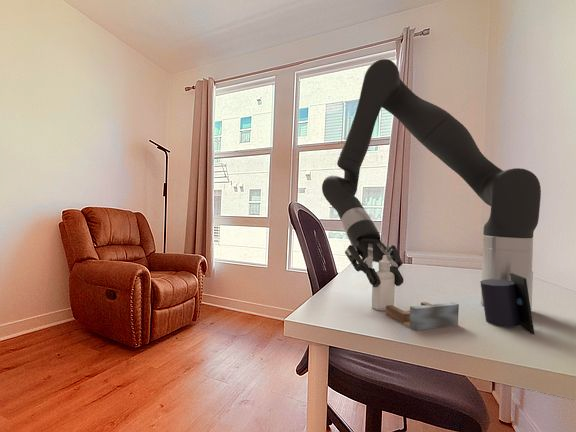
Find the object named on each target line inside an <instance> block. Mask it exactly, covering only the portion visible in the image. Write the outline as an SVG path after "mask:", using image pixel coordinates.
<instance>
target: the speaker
mask: <svg viewBox="0 0 576 432" xmlns="http://www.w3.org/2000/svg"><path fill="white" fill-rule="evenodd" d="M510 277H511V281H508V280H502V279H488V280H483V281H482V280H480V282H479V283H480V289H481V290H482V297H483V304H484V305H483V311H484V316H485V322H486V323H488V324H490V325H493V326H498V327H505V328H515V327H519V326H520V327H521V328H522V329H524V330H525V331H526V332H528V333H529V334H531V335H533V336H534V335H535V329H534V327H535V326H534V321H533V316H532V315H533V314H532V310H531V307H530V301H529V294H528V287H527V281H526V278H524V277H521V276H518V275H516V274H513V273H510ZM481 290H480V291H481Z"/></svg>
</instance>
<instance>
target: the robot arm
mask: <svg viewBox="0 0 576 432" xmlns="http://www.w3.org/2000/svg"><path fill="white" fill-rule="evenodd" d="M400 76H401V75H400V71H399V68H398V66H397V64H396V63H395V62H394V61H392V60H391V59H387V58H381V59H379V60H376V61H374V62H373V63H372V64H370V65H369V67H368V68H367V69H366V72H365V73H364V76H363V81H362V85H361V89H360V93H359V94H360V95H359V99H358V103H357V106H356V110H355V114H354V116H353V120H352V123H351V124H350V125H351V126H350V128H349V130H348V133H347V136H346V138H345V141H344V144H343V146H342V148H341V151H340V154H339V156H338V158H337V159H338V160H337V161H336V162H337V163H336V165H337V167H338V168H339V169H341V170H342V171H344V177H341V176H337V175H335V174H334V175H329V176H327V177H325V178H324V180H323V181H322V184H321V192H322V195H323V197H324V198H325V200H326V201H327V203H328V204H329V205H330V206H331V207H332V209H334V210H335V211H336V212H337V215H338V217H339V218H340V221H341V223H342V227H343V230H344V232H345V234H346V236H347V238H348V241H349V243H350V244H349V245H348V247H347V248H346V250H345V251H344V254H345V255H346V257H347V259H348V260H349V261H350V263H351V265H352V267H353V268H354V270H355V271H356V272H358V273H359V272H362V273H364V274H365V276H366V277H367V279H368V281H369V282H368V283H369V284H370V285H371V286H372V285H373V287H378V286H379V285H380V284H381V281H380V279H379V277H378V275H377V273H376V272H377V271H376V269H375V268H373V263H377V264H379V261H380V260H382V258H383V255H386V257H387V260H388V261H389V262H390V272H392V273H393V274H394V276H395V287H400V286H402V284H403V283H404V277H403V276H402V274H401V272H400V270H399V268H400V267H401V266H402V265H403V260H402V259H401V257H400V254H399V251H398V249H397V247H396V245H394V244H392V245H391V246H386V245H385V244H384V243H383V242H382V240H381V234H380V231H379V230H378V229H377V226H376V225H375V223H374V222H373V220H372V217H371V216H370V215H369V214H368V213H367V212H366V210H365V208H364V207H363V205H362V203H361V202H360V200H359V198H357V197H356V194H357V191H358V187H359V186H358V185H359V178H360V171H361V167H362V164H363V162H364V160H365V157H366V154H367V152H368V150H369V146H370V144H371V141H372V140H371V139H372V137H373V132H374V130H375V129H374V128H375V126H376V121H377V120H378V117H379V114H380V112H381V110H382V108H383V109H384V110H385V111H387V112H389V113H390V114H391V115H393V116H394V117H395V118H396V119H397V120H398V121H399V122H400V123H401V125H403V126H404V128H406V130H407V131H408V132H409V133H410V134H411V135H412V136H413V137H414V138H415V139H416V140H417V141H418V142H419V143H420V144H421V145H422V146H424V147H425V149H427V150H428V151H430V152H431V154H433V155H434V156H436V157H437V158H438V159H439V160H440V161H441V162H442V163H443V164H445V165H446V166H447V167H448V168H450V169H451V170H452V171H454V172H455V173H456V174H457V175H459V177H460V178H461V179H462V180H464V182H465V183H466V184H467V185H468V186H469V187H470V188H471V190H472V191H473V192H475V194H476V195H477V196H478V197H479V198H480V199H481V200H482V201H483V202H484V203H485V204H486V205H488V206H489V207H490V214H489V216H488V217H489V218H488V219H487V221H486V222H485V224H484V226H483V235H482V236H483V237H482V263H481V281H483V280H488V279H502V280H508V281H511V277H510V273H513V274H516V275H518V276H521V277H524V278H526V281H527V287H528V294H529V301H530V307H531V311H532V310H533V309H532V308H533V307H532V306H533V282H534V271H533V259H534V258H533V253H534V252H533V249H534V232H535V230H536V228H537V227H538V224H539V218H540V210H541V209H540V208H541V198H542V197H541V196H542V189H541V183H540V180H539V178H538V176H537V175H536V174H535V173H534V172H532V171H530V170H528V169H525V168H518V167H516V168H515V167H514V168H511V169H506V170H503V169H501V168H499V167H498V166H496V165H495V163H493V162H492V161H490V160H489V159H488V158H487V157H486V156H485V155H484V154H483V153H482V151H481V150H480V149H479V147H478V145H477V143H476V141H475V140H474V138H473V136H472V134H471V132H470V131H469V129H468V128H467V127H465V125H463V123H462V122H460V121H459V120H458V119H457V118H455V117H454V116H453V115H452V114H451V113H449V112H448V111H447V110H445V109H444V108H442V107H440V106H438V105H436V104H434V103H431V102H429V101H428V100H425V99H422V98H421V97H419V96H418V95H416V93H415V92H413V91H412V90H411V88H409V87H408V86H407V85H406V84H405V83H404V81H402V79H401V77H400ZM480 291H481V292H480V293H481V294H480V304H481V305H482V306H484V304H483V297H482V290H480Z"/></svg>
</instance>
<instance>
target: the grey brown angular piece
mask: <svg viewBox="0 0 576 432" xmlns="http://www.w3.org/2000/svg"><path fill="white" fill-rule="evenodd" d="M459 306H460V304H459V303H457V302H443V303H434V304H433V303H429V302H427V301H425V302H424V301H423V302H420V305H415V306H410V307H409V310H403V309H401V308H399V307H396V306H395V305H394V306H393V305H389V306H386V310H385V316H386V317H388V318H390V319H392V320H394V321H395V322H398V323H400V324H401V325H403V326H405V327H406V328H409V329H411V330H412V331H421V330H429V329H430V330H431V329H435V328H443V327H444V328H445V327H450V326H458V325H459V312H460V311H459V309H460V307H459Z"/></svg>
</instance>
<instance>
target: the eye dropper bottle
mask: <svg viewBox="0 0 576 432" xmlns="http://www.w3.org/2000/svg"><path fill="white" fill-rule="evenodd" d="M390 266H391V264H390V262H389V261H388V260H387V257H386V255H383V258H382V260H380V261H379V263H378V270H377V271H376V273H377V275H378V277H379V279H380V281H381V284H380V285H379V286H378V287H373V285H371V287H372V288H371V308H372V309H374V310H377V311H383V312H384V311H386V306H389V305H393V306H395V293H396V292H395V289H396V285H395V276H394V274H393V273H392V272H390Z"/></svg>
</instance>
